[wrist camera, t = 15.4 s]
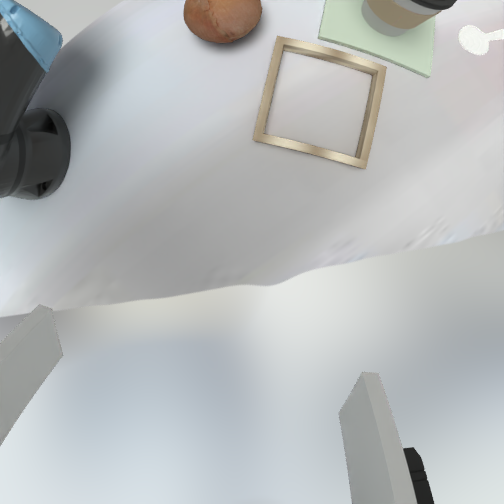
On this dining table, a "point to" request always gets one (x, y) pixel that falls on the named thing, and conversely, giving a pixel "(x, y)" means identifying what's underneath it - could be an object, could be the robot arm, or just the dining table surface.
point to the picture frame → (338, 58)
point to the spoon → (477, 39)
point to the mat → (378, 37)
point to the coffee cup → (400, 14)
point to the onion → (221, 18)
